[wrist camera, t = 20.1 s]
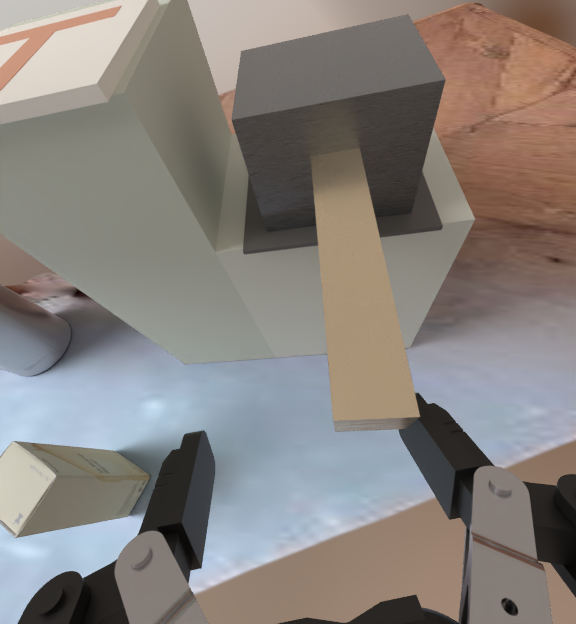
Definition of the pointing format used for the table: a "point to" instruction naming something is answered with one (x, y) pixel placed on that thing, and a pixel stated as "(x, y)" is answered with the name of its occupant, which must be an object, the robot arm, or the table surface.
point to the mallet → (345, 186)
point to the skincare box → (64, 487)
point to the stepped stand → (177, 192)
